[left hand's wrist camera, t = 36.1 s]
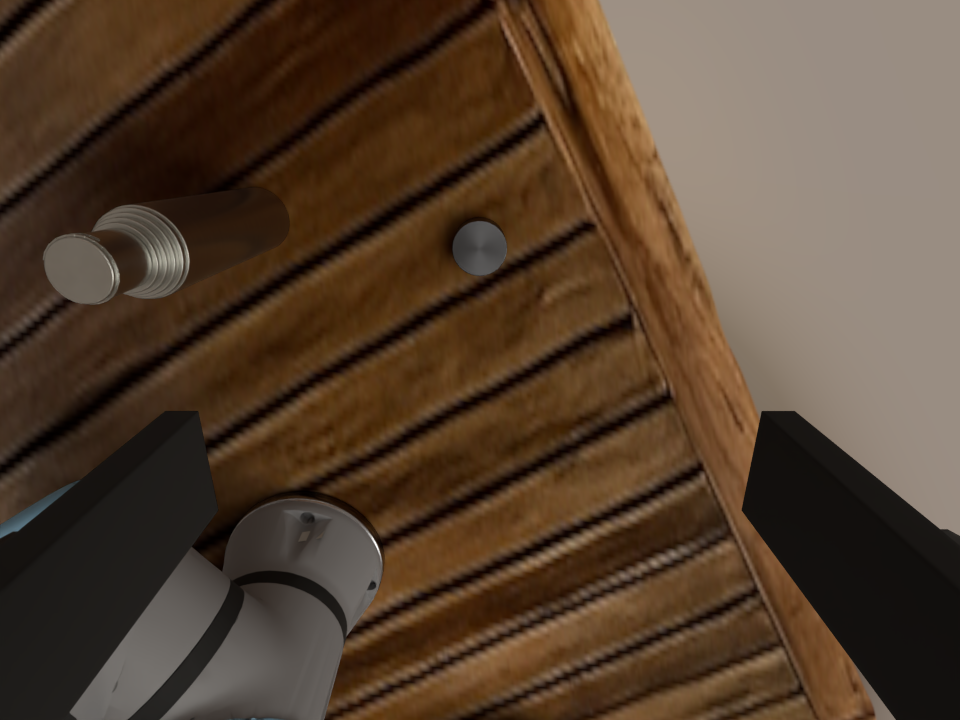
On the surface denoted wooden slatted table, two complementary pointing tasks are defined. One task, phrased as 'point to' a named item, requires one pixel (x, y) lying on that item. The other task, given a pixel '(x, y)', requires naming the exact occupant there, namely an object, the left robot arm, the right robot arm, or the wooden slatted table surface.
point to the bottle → (165, 244)
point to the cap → (479, 246)
